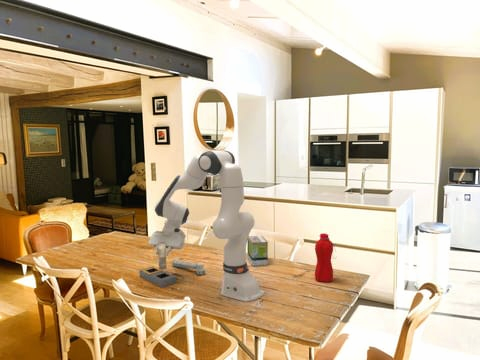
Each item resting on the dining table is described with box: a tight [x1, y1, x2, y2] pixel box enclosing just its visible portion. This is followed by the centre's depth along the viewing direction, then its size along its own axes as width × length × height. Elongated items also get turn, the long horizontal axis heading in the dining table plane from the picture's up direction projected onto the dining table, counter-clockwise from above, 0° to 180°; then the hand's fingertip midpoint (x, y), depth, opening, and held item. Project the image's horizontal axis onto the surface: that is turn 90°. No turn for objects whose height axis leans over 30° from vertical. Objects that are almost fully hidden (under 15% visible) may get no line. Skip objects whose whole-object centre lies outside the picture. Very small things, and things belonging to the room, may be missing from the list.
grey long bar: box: [172, 259, 206, 276], centre depth 212 cm, size 5×7×25 cm
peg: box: [157, 242, 167, 271], centre depth 194 cm, size 4×4×14 cm
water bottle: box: [314, 232, 337, 283], centre depth 193 cm, size 9×11×25 cm
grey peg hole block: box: [138, 265, 177, 288], centre depth 199 cm, size 23×9×4 cm, turn 44°
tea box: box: [247, 235, 269, 267], centre depth 224 cm, size 15×10×15 cm, turn 9°
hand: (161, 254), depth 193 cm, fingers closed on peg, 4 cm apart
